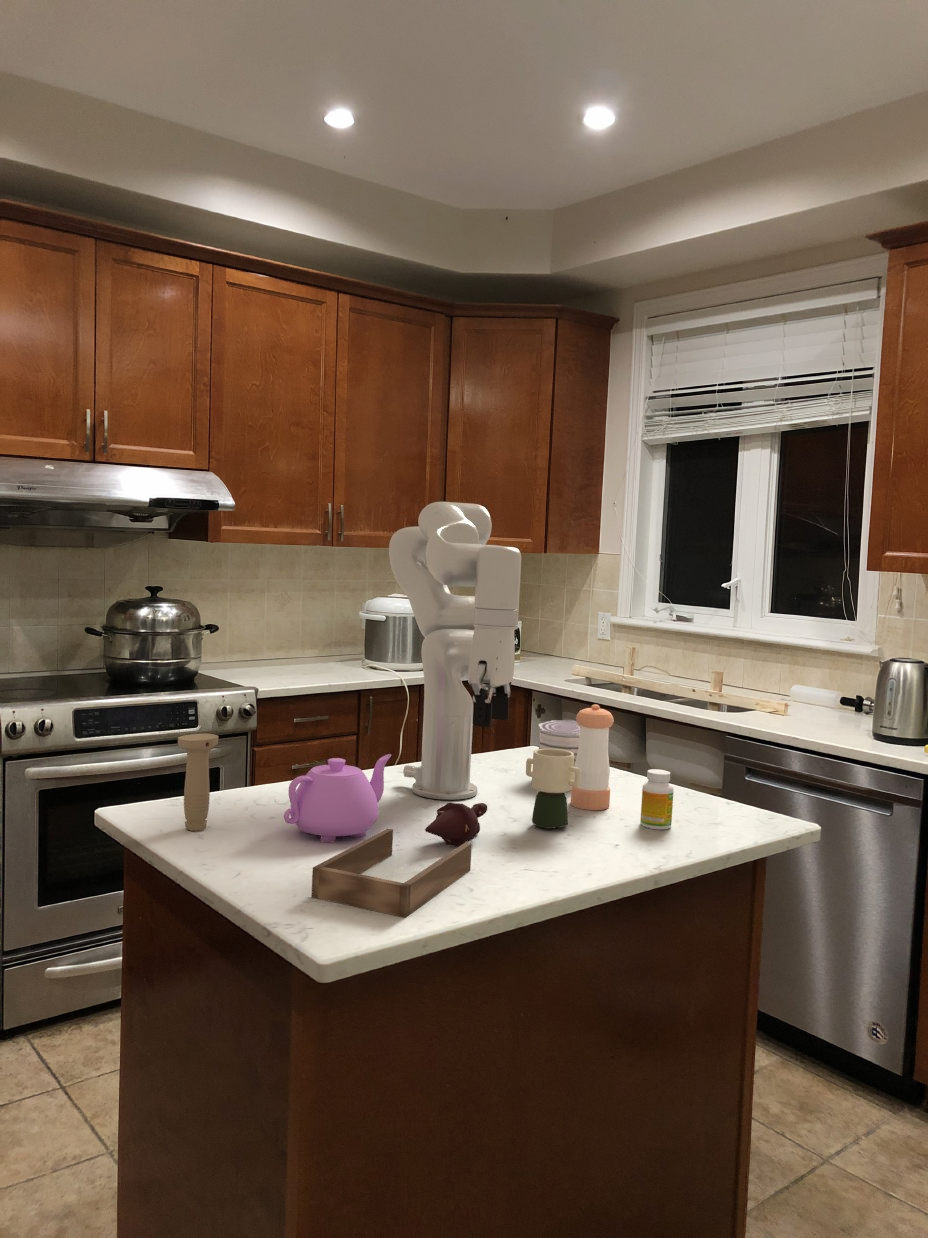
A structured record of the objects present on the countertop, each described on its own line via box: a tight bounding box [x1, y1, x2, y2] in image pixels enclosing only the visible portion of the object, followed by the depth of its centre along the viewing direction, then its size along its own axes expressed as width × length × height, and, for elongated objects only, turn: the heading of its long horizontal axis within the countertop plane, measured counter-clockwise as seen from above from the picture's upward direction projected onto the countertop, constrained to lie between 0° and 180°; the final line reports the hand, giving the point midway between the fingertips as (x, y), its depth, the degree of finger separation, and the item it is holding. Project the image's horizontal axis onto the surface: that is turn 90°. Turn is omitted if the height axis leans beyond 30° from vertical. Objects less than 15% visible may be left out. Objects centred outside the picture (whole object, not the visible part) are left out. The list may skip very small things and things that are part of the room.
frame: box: [311, 827, 473, 918], centre depth 134 cm, size 14×21×4 cm, turn 157°
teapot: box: [283, 753, 392, 844], centre depth 156 cm, size 20×14×12 cm
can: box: [538, 719, 580, 766], centre depth 198 cm, size 11×11×12 cm
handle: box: [177, 732, 219, 832], centre depth 154 cm, size 5×6×15 cm
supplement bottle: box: [639, 768, 674, 831], centre depth 169 cm, size 5×5×10 cm
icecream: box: [424, 802, 488, 848], centre depth 153 cm, size 7×7×15 cm
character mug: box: [525, 748, 581, 829], centre depth 165 cm, size 11×7×13 cm, turn 52°
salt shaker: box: [570, 703, 615, 811], centre depth 180 cm, size 7×7×19 cm
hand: (490, 722), depth 163 cm, fingers open, 7 cm apart
